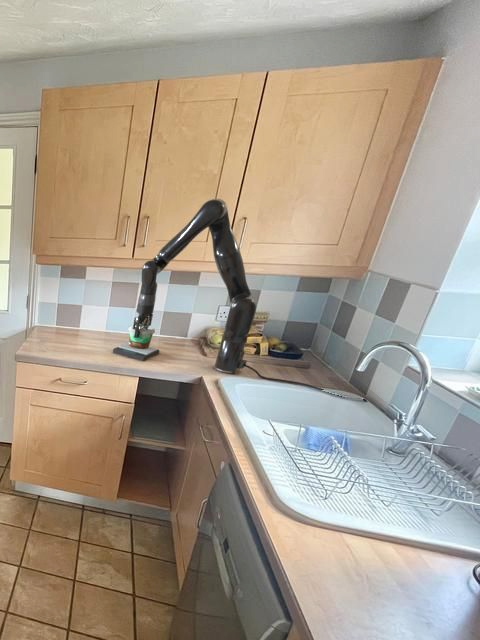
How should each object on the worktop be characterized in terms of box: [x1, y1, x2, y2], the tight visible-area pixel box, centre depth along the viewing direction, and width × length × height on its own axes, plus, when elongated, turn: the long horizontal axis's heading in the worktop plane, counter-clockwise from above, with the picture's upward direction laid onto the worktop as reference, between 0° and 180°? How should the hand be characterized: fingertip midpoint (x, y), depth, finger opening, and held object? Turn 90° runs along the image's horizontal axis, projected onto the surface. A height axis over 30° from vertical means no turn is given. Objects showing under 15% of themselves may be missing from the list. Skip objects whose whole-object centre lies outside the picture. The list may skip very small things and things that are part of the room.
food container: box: [128, 325, 156, 349], centre depth 204 cm, size 12×6×10 cm, turn 62°
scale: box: [112, 341, 160, 362], centre depth 206 cm, size 16×16×3 cm
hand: (140, 336), depth 204 cm, fingers closed on food container, 7 cm apart
